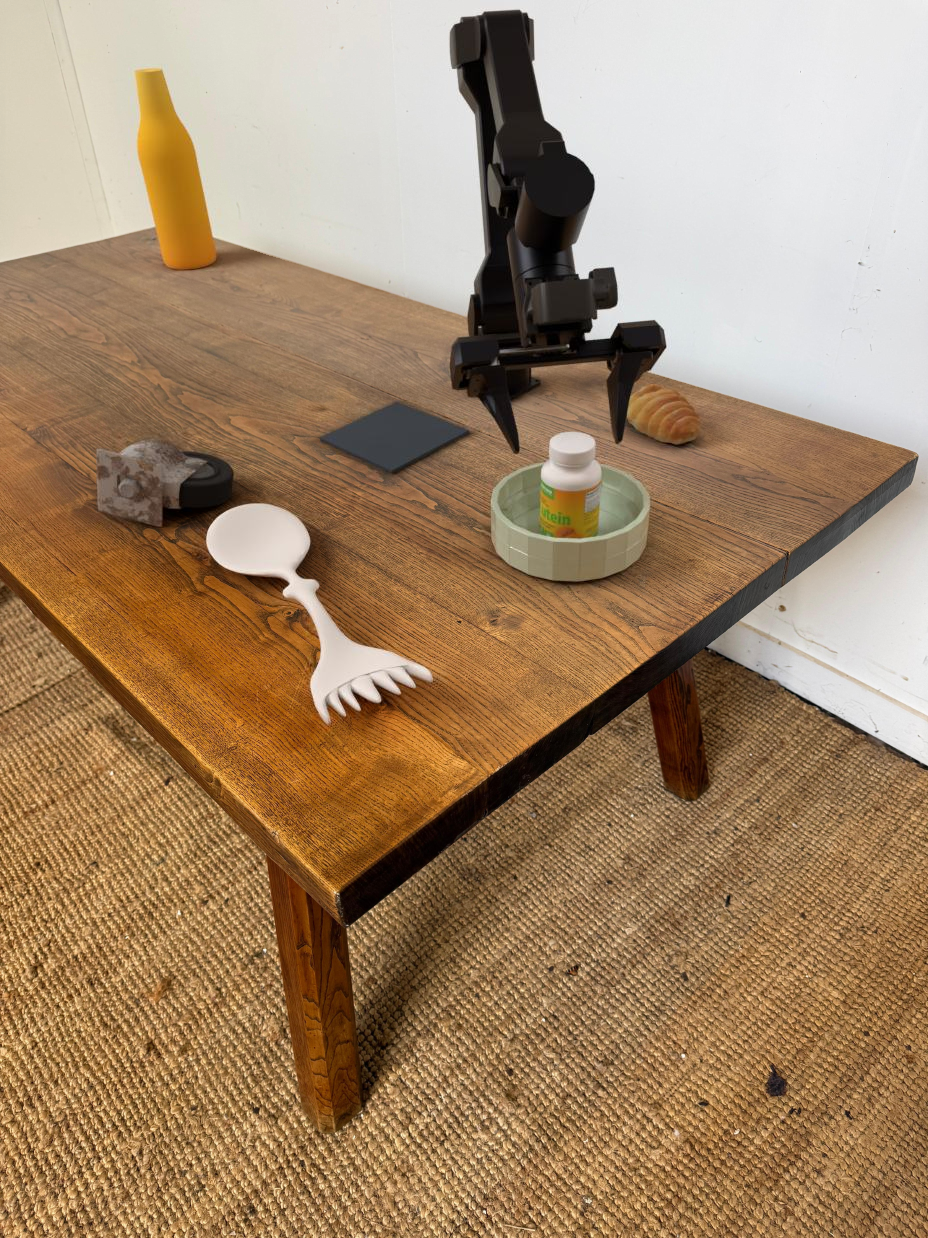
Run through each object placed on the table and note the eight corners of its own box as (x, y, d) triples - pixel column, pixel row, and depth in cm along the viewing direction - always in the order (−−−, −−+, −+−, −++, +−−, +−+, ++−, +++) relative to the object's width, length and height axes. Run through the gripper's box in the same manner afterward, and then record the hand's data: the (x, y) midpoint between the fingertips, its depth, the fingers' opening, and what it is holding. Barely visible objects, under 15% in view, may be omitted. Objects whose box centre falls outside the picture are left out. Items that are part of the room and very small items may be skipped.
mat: (396, 404, 107) (396, 401, 106) (469, 433, 100) (469, 429, 100) (320, 440, 100) (319, 437, 100) (392, 473, 93) (391, 470, 93)
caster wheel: (243, 502, 95) (203, 542, 86) (143, 476, 95) (94, 513, 87) (247, 444, 91) (206, 479, 83) (144, 418, 92) (93, 449, 83)
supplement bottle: (527, 539, 82) (528, 444, 76) (561, 514, 85) (565, 421, 79) (575, 559, 79) (580, 462, 73) (608, 533, 82) (616, 438, 76)
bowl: (556, 485, 90) (557, 445, 87) (675, 534, 82) (680, 492, 79) (461, 544, 82) (459, 503, 79) (582, 605, 74) (585, 561, 72)
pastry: (715, 439, 96) (720, 407, 94) (664, 454, 94) (668, 421, 92) (665, 406, 103) (668, 375, 101) (616, 420, 101) (618, 389, 99)
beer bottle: (191, 273, 150) (147, 74, 132) (153, 266, 154) (104, 72, 136) (228, 257, 156) (191, 66, 138) (190, 251, 160) (149, 64, 142)
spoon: (328, 752, 62) (322, 718, 60) (197, 541, 84) (189, 510, 82) (440, 705, 66) (437, 670, 64) (286, 514, 88) (280, 483, 86)
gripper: (446, 240, 71) (470, 426, 69) (671, 222, 72) (700, 404, 71) (441, 306, 82) (461, 468, 80) (636, 289, 83) (660, 448, 82)
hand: (568, 447), depth 78 cm, fingers open, 9 cm apart
